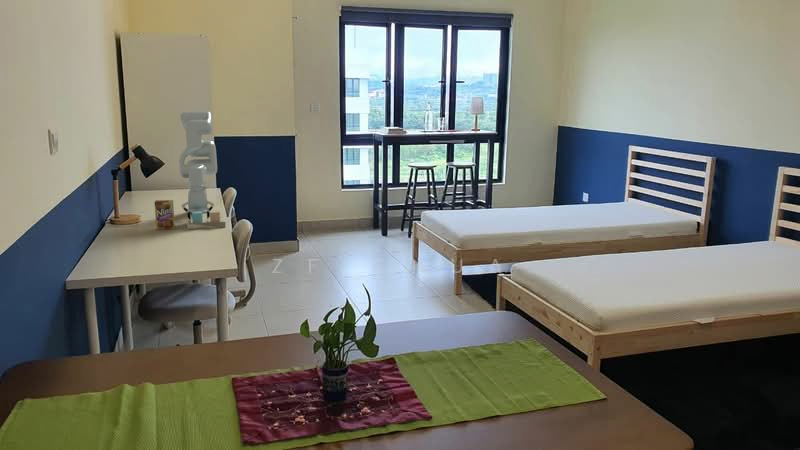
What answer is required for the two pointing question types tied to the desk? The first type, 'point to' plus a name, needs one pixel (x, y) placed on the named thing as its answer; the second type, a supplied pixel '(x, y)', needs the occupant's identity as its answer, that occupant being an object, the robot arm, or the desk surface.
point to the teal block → (197, 217)
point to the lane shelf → (206, 224)
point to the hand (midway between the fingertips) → (198, 218)
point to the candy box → (164, 214)
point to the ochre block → (215, 216)
